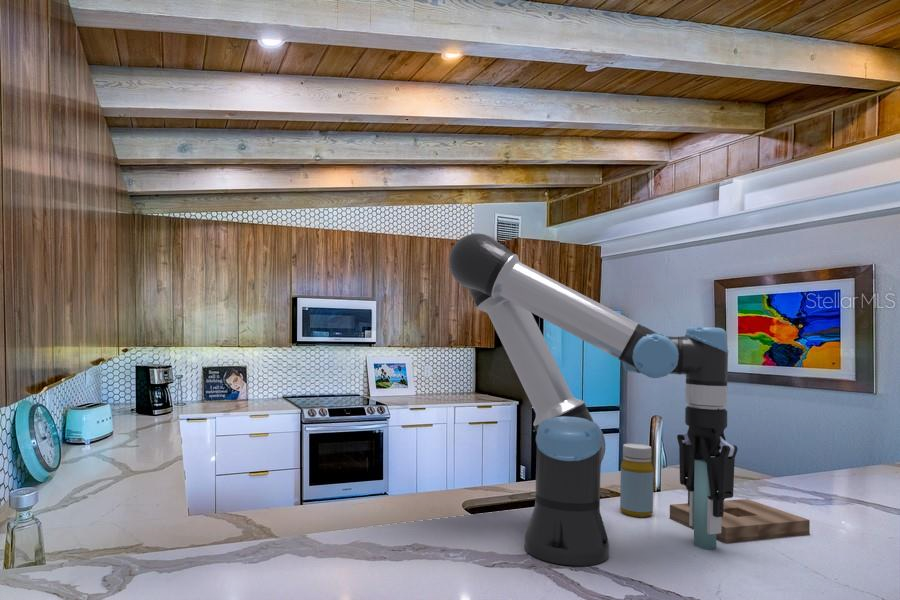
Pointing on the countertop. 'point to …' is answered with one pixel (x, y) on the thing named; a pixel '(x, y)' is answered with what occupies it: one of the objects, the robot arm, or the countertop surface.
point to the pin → (701, 506)
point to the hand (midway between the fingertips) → (705, 528)
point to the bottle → (636, 481)
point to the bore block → (749, 521)
